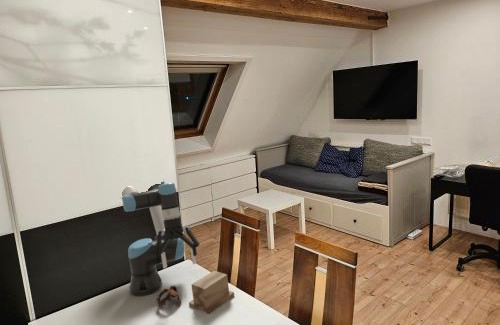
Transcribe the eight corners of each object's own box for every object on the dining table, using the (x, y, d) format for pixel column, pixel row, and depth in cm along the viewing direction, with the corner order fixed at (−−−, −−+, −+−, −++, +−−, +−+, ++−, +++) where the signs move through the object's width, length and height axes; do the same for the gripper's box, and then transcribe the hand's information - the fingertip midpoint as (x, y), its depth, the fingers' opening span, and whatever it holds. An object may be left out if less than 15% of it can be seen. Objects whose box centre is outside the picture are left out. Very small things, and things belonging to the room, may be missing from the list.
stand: (189, 305, 151) (186, 284, 149) (214, 288, 163) (212, 268, 161) (209, 313, 143) (206, 291, 142) (234, 295, 155) (232, 274, 154)
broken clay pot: (180, 310, 148) (168, 298, 146) (163, 319, 151) (151, 307, 148) (186, 289, 159) (175, 277, 157) (170, 297, 162) (159, 286, 159)
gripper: (141, 223, 152) (149, 271, 151) (196, 214, 149) (204, 264, 148) (149, 220, 159) (156, 266, 159) (201, 212, 156) (209, 259, 155)
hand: (180, 265), depth 153 cm, fingers open, 13 cm apart
